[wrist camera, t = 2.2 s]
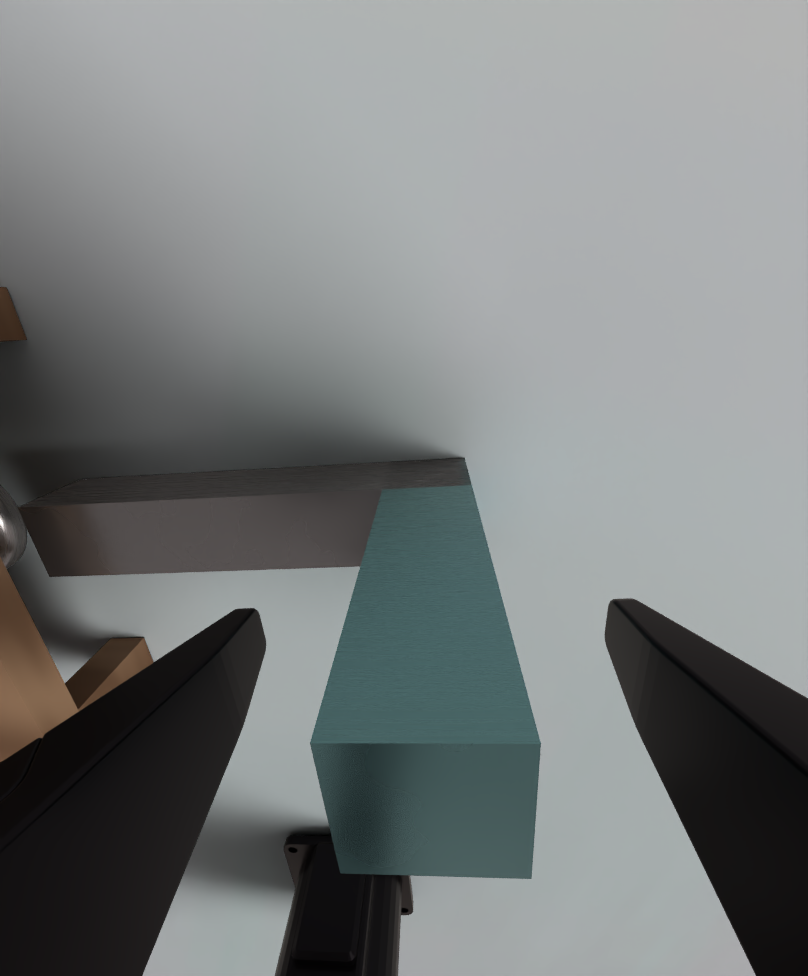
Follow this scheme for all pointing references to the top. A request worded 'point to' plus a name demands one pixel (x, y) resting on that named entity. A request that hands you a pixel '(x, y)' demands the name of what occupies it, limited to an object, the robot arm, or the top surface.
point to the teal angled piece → (357, 640)
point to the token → (11, 530)
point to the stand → (25, 659)
